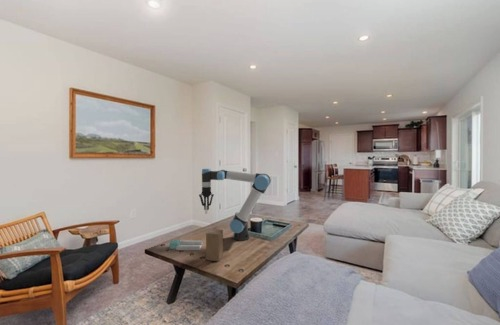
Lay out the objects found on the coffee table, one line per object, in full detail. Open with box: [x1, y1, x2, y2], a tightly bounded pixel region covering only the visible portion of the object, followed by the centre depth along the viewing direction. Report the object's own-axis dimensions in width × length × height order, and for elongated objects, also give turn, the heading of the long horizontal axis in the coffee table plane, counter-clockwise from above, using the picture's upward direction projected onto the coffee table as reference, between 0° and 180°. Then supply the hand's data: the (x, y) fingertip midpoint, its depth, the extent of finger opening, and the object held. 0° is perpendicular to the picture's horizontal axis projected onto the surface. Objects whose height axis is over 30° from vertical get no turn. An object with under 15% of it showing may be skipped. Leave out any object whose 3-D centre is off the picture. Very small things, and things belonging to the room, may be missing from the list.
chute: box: [176, 240, 204, 251], centre depth 185 cm, size 18×12×4 cm, turn 90°
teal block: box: [169, 238, 181, 250], centre depth 185 cm, size 6×6×5 cm
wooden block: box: [205, 228, 224, 262], centre depth 166 cm, size 10×10×20 cm
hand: (206, 213), depth 198 cm, fingers closed
